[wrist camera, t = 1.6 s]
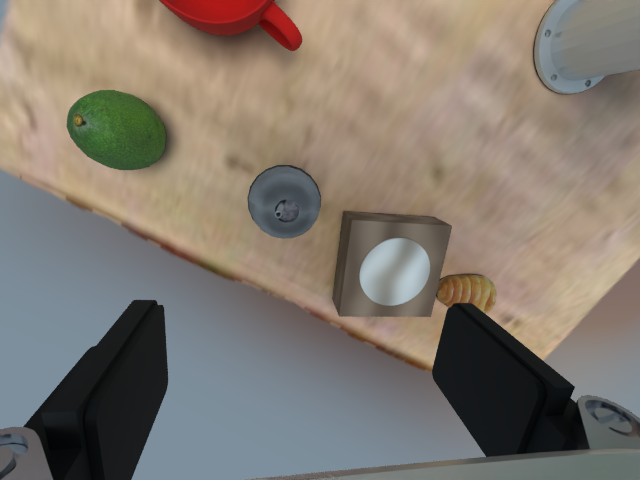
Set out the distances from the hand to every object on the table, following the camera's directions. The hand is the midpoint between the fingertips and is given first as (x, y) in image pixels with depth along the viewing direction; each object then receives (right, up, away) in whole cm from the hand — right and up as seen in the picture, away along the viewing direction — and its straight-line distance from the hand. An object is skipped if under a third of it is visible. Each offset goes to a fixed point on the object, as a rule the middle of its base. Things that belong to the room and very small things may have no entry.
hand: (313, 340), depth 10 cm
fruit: (-21, +16, +27) cm, 38 cm away
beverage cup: (-5, +11, +32) cm, 34 cm away
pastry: (+24, -5, +42) cm, 49 cm away
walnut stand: (+10, 0, +37) cm, 39 cm away
